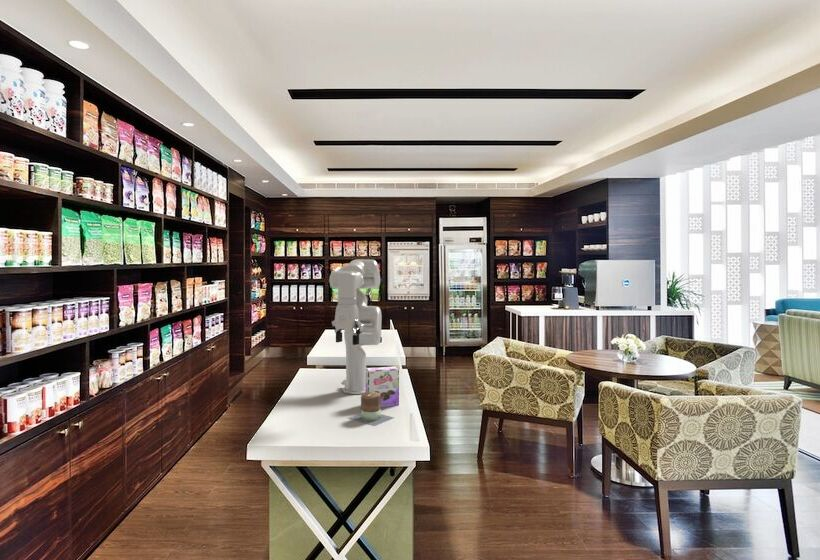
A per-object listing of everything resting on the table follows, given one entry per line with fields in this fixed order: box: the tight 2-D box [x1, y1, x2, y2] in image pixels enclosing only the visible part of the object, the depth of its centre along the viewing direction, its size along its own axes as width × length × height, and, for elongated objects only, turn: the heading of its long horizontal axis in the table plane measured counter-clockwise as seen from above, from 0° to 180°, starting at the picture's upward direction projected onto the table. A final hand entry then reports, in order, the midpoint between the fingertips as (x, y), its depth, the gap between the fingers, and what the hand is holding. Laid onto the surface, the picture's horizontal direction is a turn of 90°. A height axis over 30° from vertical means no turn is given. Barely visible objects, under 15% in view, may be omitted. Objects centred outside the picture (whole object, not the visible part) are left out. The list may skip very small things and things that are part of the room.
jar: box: [360, 408, 382, 421], centre depth 183 cm, size 8×8×7 cm
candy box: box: [365, 366, 400, 408], centre depth 200 cm, size 14×6×16 cm, turn 105°
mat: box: [347, 413, 395, 427], centre depth 183 cm, size 14×12×1 cm
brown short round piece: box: [360, 392, 382, 412], centre depth 183 cm, size 7×7×6 cm
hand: (347, 343), depth 193 cm, fingers open, 9 cm apart
